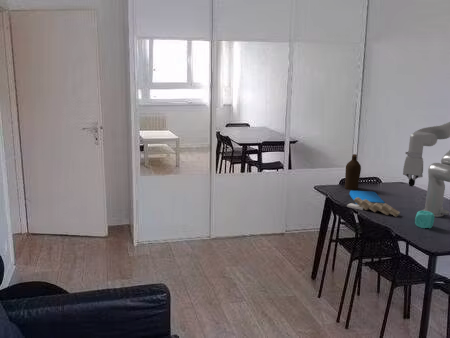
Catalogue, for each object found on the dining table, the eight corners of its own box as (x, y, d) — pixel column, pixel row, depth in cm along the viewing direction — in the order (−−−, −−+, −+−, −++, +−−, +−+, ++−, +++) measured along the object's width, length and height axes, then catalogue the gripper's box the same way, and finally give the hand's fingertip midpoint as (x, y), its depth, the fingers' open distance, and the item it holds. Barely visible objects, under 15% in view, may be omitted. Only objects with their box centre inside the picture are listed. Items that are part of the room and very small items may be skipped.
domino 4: (400, 212, 280) (385, 203, 284) (397, 214, 276) (382, 204, 280) (398, 215, 280) (383, 205, 285) (396, 217, 276) (381, 207, 281)
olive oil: (358, 191, 331) (361, 156, 326) (342, 189, 335) (346, 155, 329) (359, 187, 341) (363, 154, 335) (344, 185, 345) (348, 152, 339)
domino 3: (391, 210, 282) (376, 202, 287) (389, 212, 278) (373, 204, 283) (389, 213, 283) (374, 205, 287) (387, 215, 279) (372, 207, 283)
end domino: (365, 206, 291) (350, 203, 297) (362, 208, 287) (347, 204, 293) (365, 209, 292) (349, 206, 297) (362, 211, 288) (346, 207, 293)
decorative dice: (418, 222, 268) (420, 209, 266) (433, 226, 263) (435, 212, 261) (414, 226, 262) (416, 212, 260) (428, 229, 257) (430, 216, 255)
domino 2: (379, 208, 286) (365, 198, 291) (376, 210, 282) (362, 200, 287) (377, 210, 287) (364, 201, 292) (374, 212, 283) (361, 202, 288)
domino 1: (371, 206, 289) (358, 197, 294) (368, 207, 285) (354, 198, 290) (369, 209, 290) (356, 199, 295) (366, 210, 286) (353, 200, 291)
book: (374, 191, 318) (385, 201, 294) (373, 197, 319) (384, 208, 295) (349, 190, 319) (357, 200, 294) (348, 196, 320) (357, 206, 295)
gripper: (399, 154, 268) (396, 185, 272) (427, 157, 260) (423, 189, 264) (403, 152, 274) (399, 182, 278) (430, 155, 266) (426, 186, 270)
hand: (411, 185), depth 271 cm, fingers closed
